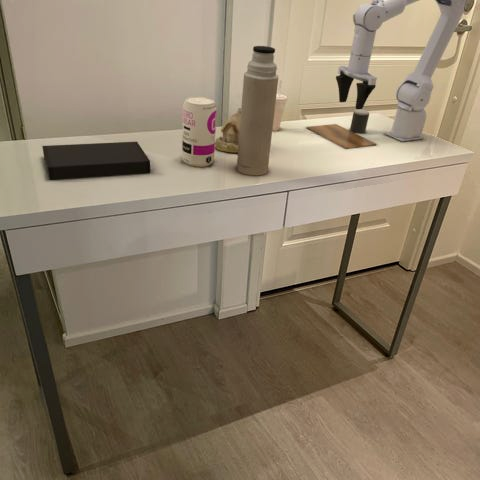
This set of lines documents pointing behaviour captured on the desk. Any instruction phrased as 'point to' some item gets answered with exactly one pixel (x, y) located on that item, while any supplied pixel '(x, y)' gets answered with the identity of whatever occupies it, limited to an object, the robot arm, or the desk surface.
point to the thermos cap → (359, 121)
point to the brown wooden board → (341, 136)
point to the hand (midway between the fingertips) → (350, 105)
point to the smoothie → (279, 109)
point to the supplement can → (198, 131)
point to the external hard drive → (95, 160)
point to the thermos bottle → (257, 112)
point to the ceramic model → (230, 134)
